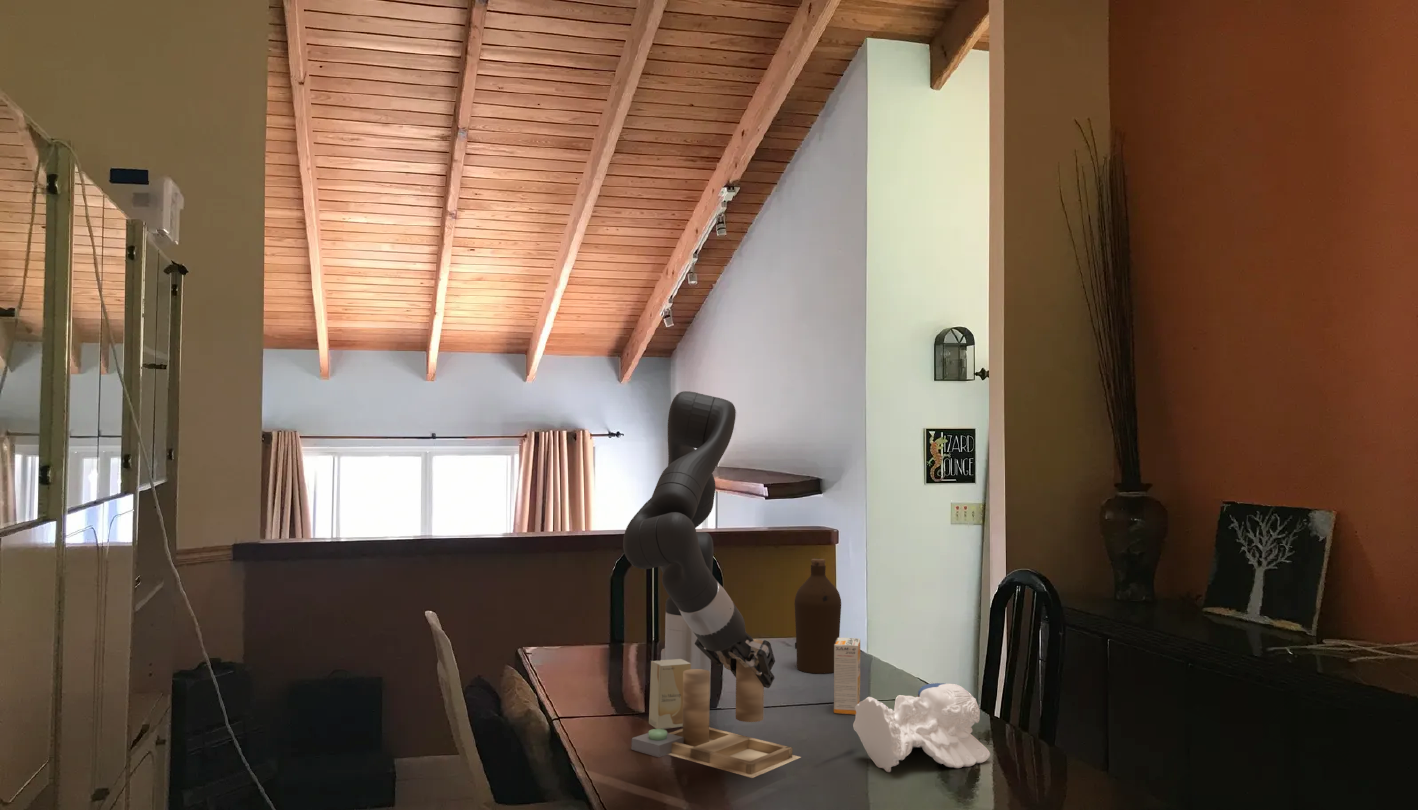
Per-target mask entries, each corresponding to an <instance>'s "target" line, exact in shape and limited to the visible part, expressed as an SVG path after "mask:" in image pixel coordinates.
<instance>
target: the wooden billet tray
mask: <svg viewBox="0 0 1418 810" xmlns="http://www.w3.org/2000/svg"><path fill="white" fill-rule="evenodd" d="M668 733H669V734H673V735H677V736H681V737H683V728H680V729H677V730H674V731H670V732H668ZM667 755H668V756H671V757H675V758H678V759H682V760H685V761H690V762H694V763H697V764H701V765H704V766H708V767H711V768H715V769H718V770H722V771H726V772H730V773H733V774H737V775H741V776H744V777H747V778H751V779H754V778H756V777H759V776H760V775H763V774H766V773H768V772H770V771H773V770H775V769H777V768H779V767H782V766H784V765H786V764H789V763H791V762H793V761H796V760H798V759H800V758H802V756H799V755H794V754H793V747H791V746H788V745H783V744H778V743H775V742H772V741H767V740H762V739H759V738H754V737H752V736H751V737H750V736H748V735H747V736H745V735H741V734H738V733H734V732H730V731H726V730H721V729H717V728H713V727H710V726H709V742H707V743H704V744H701V745H698V746H696V747H693V746H689V745H686V744H682V743H678V742H674V743H672V748H671V753H669V754H667ZM667 755H666V756H667Z"/></svg>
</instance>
